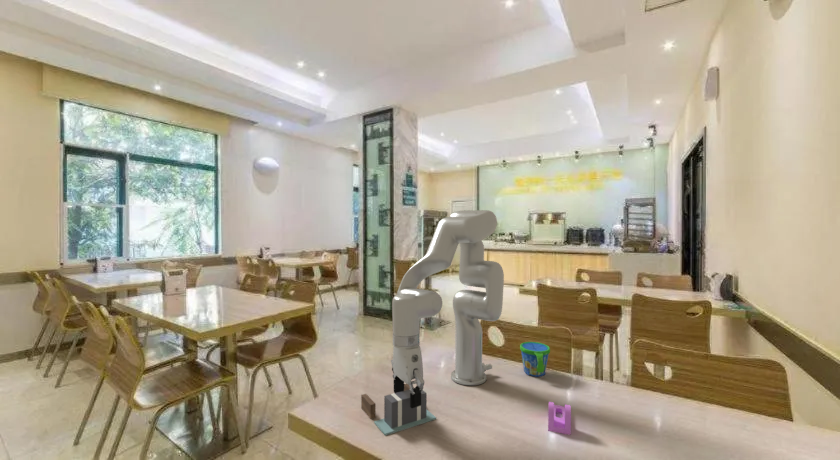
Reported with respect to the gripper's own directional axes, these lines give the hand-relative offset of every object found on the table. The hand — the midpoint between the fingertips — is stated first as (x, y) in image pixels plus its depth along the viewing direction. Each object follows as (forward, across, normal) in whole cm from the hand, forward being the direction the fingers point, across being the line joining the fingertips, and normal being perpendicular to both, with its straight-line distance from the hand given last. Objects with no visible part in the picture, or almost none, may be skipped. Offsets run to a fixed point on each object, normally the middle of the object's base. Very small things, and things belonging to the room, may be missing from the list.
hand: (407, 398), depth 103 cm
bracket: (+7, -22, -37) cm, 43 cm away
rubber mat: (+6, 0, +1) cm, 6 cm away
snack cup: (+8, +4, -56) cm, 57 cm away
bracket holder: (+6, +9, +1) cm, 11 cm away
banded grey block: (+6, 0, +1) cm, 6 cm away
